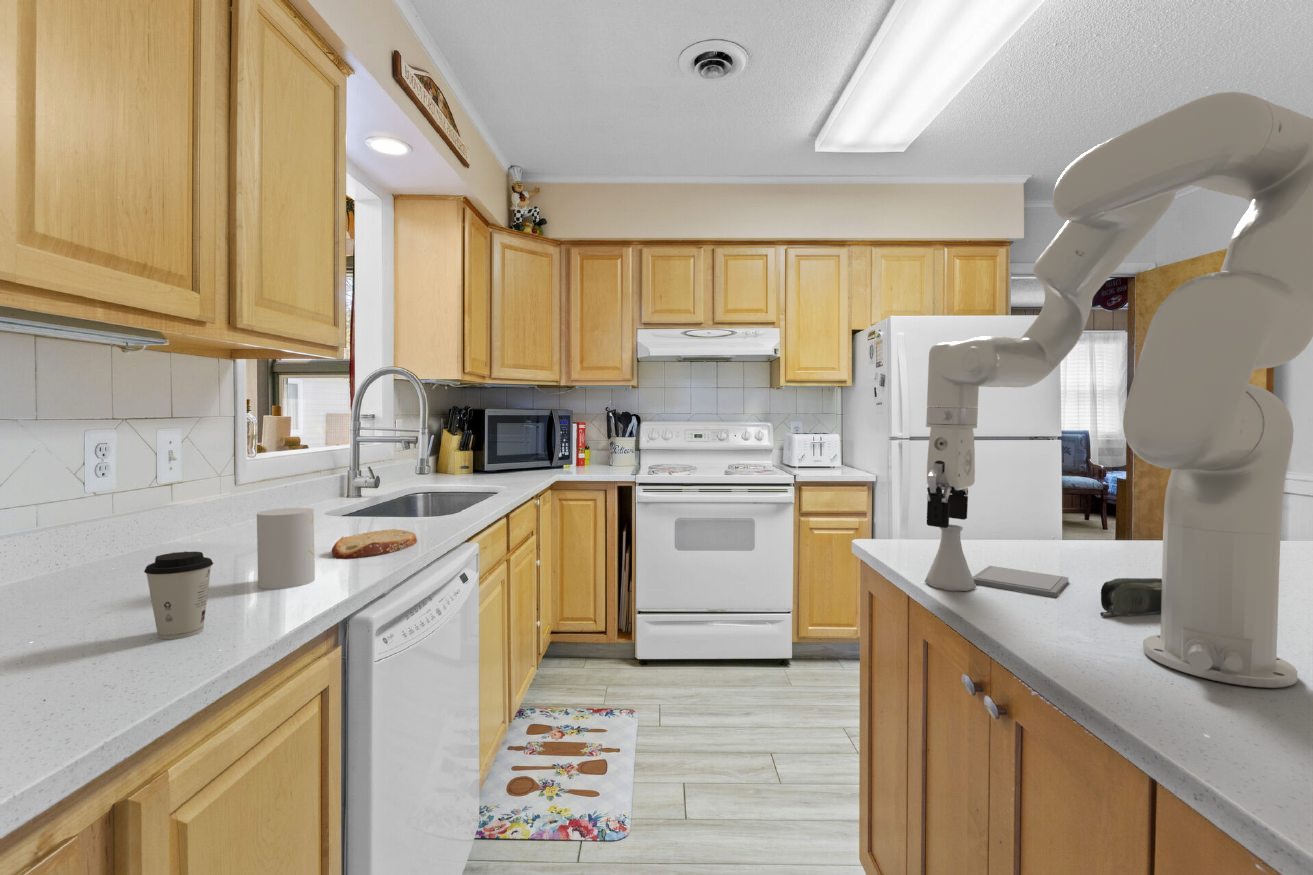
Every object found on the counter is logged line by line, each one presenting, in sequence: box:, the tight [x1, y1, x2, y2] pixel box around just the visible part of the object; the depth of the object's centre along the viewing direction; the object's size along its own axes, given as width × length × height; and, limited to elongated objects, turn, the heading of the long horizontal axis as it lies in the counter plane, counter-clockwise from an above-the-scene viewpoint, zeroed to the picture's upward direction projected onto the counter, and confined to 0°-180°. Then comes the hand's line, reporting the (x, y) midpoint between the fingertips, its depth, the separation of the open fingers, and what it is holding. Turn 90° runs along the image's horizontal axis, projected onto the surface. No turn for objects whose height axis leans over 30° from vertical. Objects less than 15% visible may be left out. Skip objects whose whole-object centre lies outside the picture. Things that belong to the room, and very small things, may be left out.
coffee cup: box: [143, 551, 214, 640], centre depth 77 cm, size 7×7×10 cm
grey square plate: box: [972, 565, 1069, 598], centre depth 101 cm, size 12×12×1 cm
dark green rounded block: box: [1100, 577, 1162, 618], centre depth 86 cm, size 5×3×15 cm
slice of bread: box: [331, 528, 418, 560], centre depth 129 cm, size 18×18×4 cm
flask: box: [924, 524, 977, 592], centre depth 99 cm, size 7×7×10 cm
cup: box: [256, 507, 316, 590], centre depth 101 cm, size 8×8×12 cm
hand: (947, 522), depth 100 cm, fingers open, 9 cm apart
